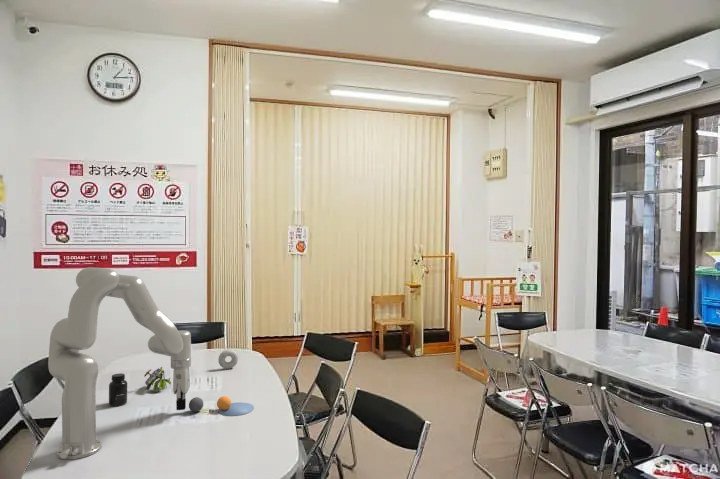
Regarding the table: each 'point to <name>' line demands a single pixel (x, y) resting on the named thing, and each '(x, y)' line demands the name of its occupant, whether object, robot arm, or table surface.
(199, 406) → the dark gray ball
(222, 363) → the donut
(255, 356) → the table surface
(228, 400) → the object ball
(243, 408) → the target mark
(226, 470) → the table surface
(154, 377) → the passion flower
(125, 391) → the supplement bottle
